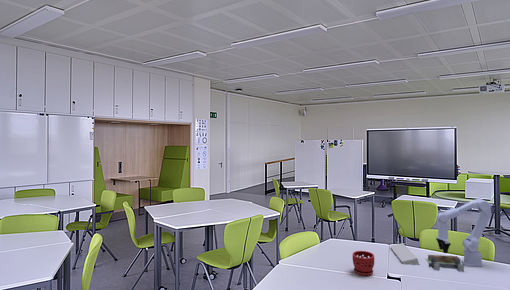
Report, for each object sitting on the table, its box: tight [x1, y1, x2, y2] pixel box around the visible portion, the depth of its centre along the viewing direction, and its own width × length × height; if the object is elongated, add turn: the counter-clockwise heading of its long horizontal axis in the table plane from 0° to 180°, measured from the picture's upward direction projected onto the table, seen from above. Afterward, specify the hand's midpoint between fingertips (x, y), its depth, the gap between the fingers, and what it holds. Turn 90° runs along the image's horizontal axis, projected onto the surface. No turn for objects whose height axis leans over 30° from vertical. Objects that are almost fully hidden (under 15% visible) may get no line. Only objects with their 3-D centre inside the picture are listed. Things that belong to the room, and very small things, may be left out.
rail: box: [427, 254, 460, 263], centre depth 219 cm, size 18×4×4 cm, turn 78°
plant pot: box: [352, 250, 375, 277], centre depth 202 cm, size 13×13×12 cm
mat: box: [424, 258, 455, 264], centre depth 219 cm, size 20×9×1 cm, turn 78°
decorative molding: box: [389, 242, 420, 266], centre depth 232 cm, size 34×5×10 cm
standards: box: [428, 257, 465, 273], centre depth 206 cm, size 20×6×6 cm, turn 78°
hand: (443, 251), depth 219 cm, fingers open, 7 cm apart
